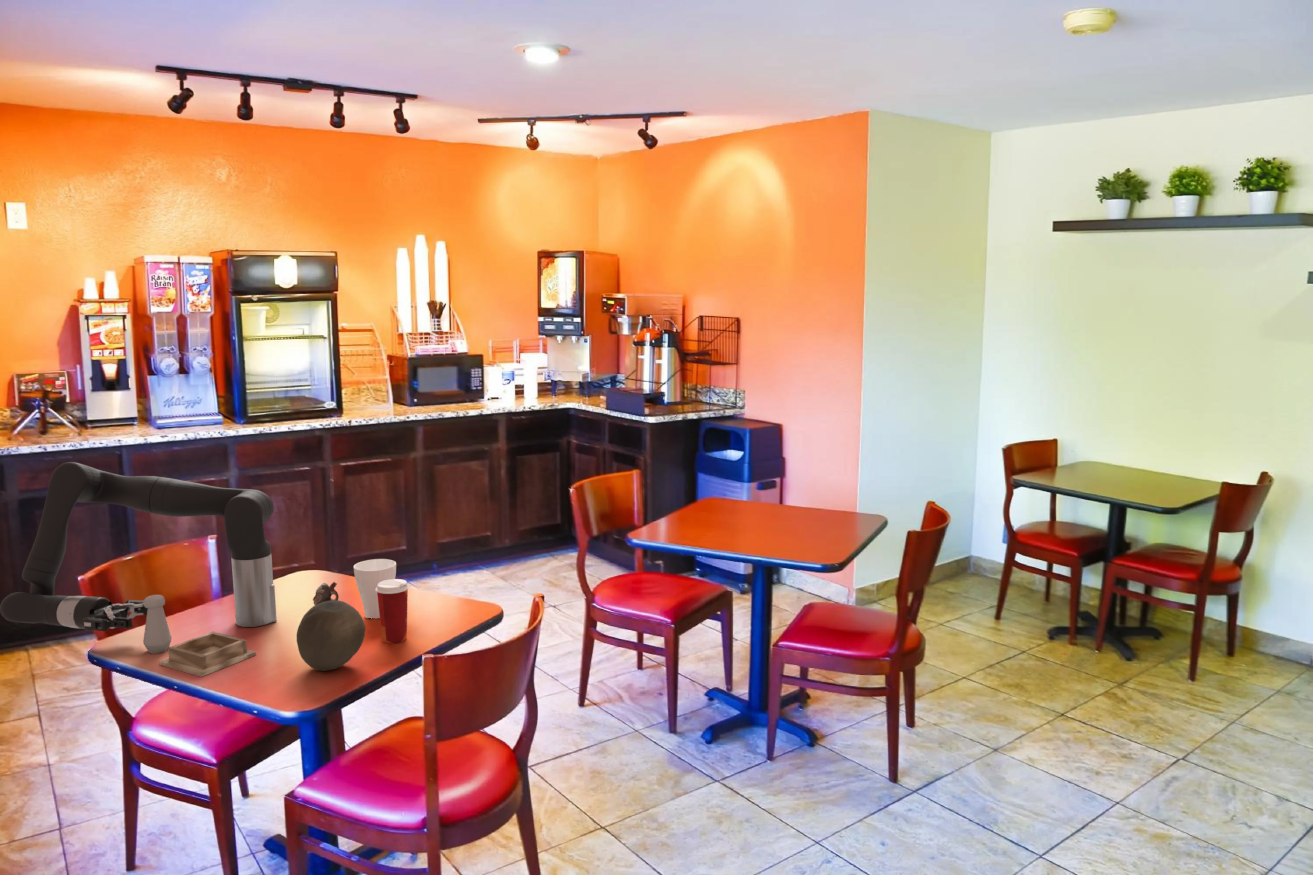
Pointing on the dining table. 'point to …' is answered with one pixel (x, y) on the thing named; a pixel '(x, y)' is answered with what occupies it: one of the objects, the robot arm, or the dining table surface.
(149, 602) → the salt shaker
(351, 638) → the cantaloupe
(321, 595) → the figurine
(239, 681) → the dining table surface
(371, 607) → the cup
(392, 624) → the paper cup
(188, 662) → the tray
